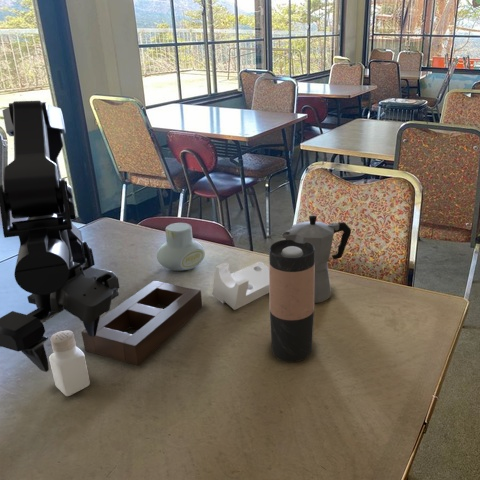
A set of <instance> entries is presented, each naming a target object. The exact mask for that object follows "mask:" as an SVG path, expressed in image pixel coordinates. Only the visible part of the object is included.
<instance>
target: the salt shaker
mask: <svg viewBox="0 0 480 480" xmlns="http://www.w3.org/2000/svg"><path fill="white" fill-rule="evenodd" d="M49 340H50V343H51V348H52V353H51V354H50V355H49V356H48V362H49V364H50V368H51V372H52V377H53V381H54V385H55V387H56V388H57V389H58V390H59V391H60V392H61V393H62V394H63V395H64V396H65V397H70V396H72V395H74V394H76V393H78V392H79V391H81V390H83V389H86V388H87V387H89V386H90V385H91V381H90V376H89V375H90V374H89V372H88V371H89V370H88V368H87V367H88V365H87V362H86V356H85V352H83V351H82V350H81V349H80V348H79V347H78V346H77V342H76V337H75V334H74V332H73V331H72V330H61V331H60V330H59V331H58V332H55V333H54V334H52V335H51V337H50V338H49Z"/></svg>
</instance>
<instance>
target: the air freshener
mask: <svg viewBox="0 0 480 480" xmlns="http://www.w3.org/2000/svg"><path fill="white" fill-rule="evenodd" d="M164 230H165V239H166V242H164V243H163V244H162V245H161V246H160V247H159V248H158V250H157V252H156V260H157V262H158V263H159V265H160V266H162V267H163V268H165V269H167V270H170V271H176V272H177V271H178V272H183V271H189V270H193V268H195V267H197V266H198V265H200V264H201V263H202V261H203V260H204V258H205V255H206V254H205V253H206V252H205V248H204V246H203V245H202V244H201V243H200V242H198V241H196V240H194V239H193V229H192V225H191V224H189V223H186V222H175V223H170V224H168V225H167V226H166V227H165V229H164Z"/></svg>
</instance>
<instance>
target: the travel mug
mask: <svg viewBox="0 0 480 480" xmlns="http://www.w3.org/2000/svg"><path fill="white" fill-rule="evenodd" d="M268 262H269V263H268V268H269V293H268V294H269V321H270V325H269V326H270V340H271V351H272V354H273V356H274V357H275V358H276V359H278V360H280V361H283V362H287V363H296V362H301V361H303V360H305V359H307V358H308V357H309V356H310V355H311V353H312V349H313V337H314V319H315V303H314V286H315V248H314V246H313V245H312V244H311V243H309V242H305V243H297V242H295V241H294V240H291V239H287V240H286V239H282V240H278V241H275V242H273V243H272V244H271V245H270V246H269V248H268Z"/></svg>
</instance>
